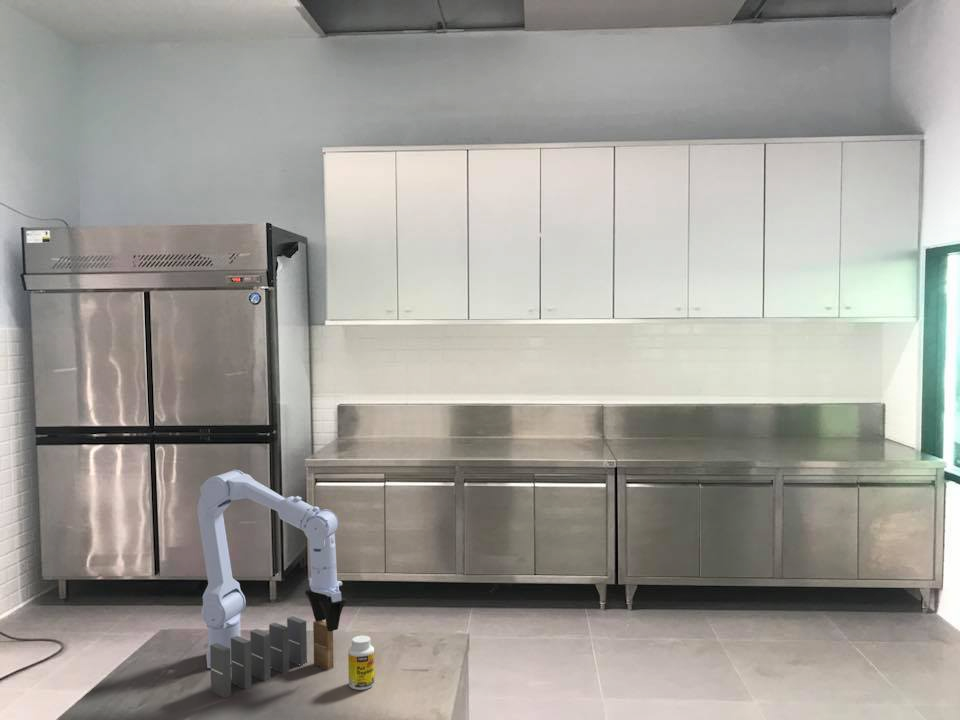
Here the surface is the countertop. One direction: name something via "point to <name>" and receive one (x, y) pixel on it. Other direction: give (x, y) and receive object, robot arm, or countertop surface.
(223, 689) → the domino
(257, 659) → the domino
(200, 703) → the countertop surface
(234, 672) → the domino
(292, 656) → the domino
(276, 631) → the domino
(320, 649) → the walnut domino
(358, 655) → the supplement bottle
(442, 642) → the countertop surface
